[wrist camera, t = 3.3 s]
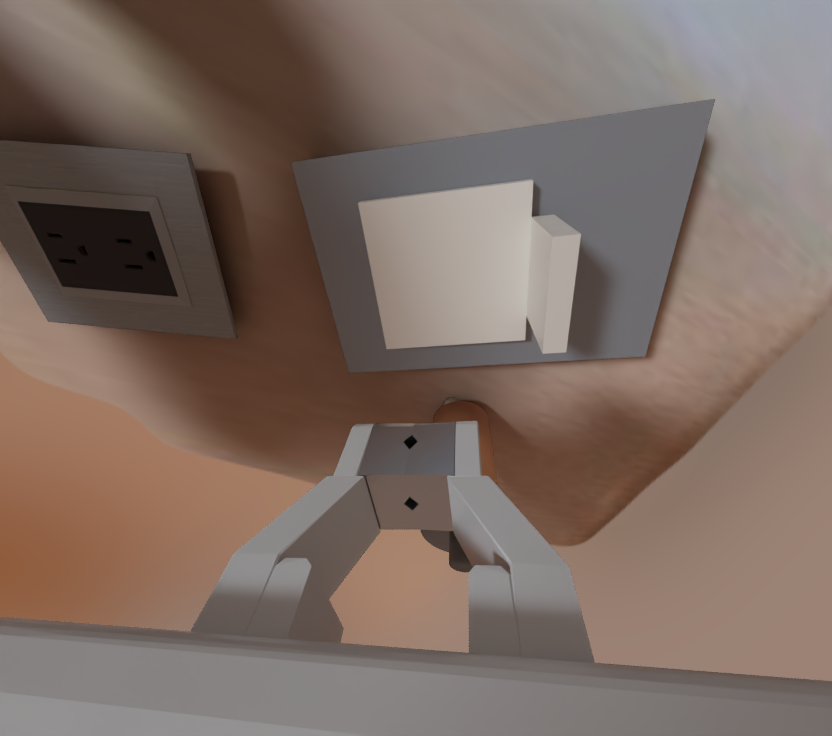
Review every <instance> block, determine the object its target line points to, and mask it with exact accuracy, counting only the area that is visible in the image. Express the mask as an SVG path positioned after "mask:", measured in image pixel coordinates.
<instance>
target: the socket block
mask: <svg viewBox="0 0 832 736" xmlns="http://www.w3.org/2000/svg"><path fill="white" fill-rule="evenodd" d="M714 102H715V99H711V100H704V101H697V102H691V103H684V104H677V105H671V106H664V107H657V108H650V109H644V110H637V111H630V112H624V113H617V114H610V115H604V116H597V117H590V118H584V119H577V120H570V121H563V122H557V123H550V124H543V125H537V126H530V127H523V128H517V129H510V130H503V131H496V132H490V133H483V134H476V135H470V136H463V137H456V138H450V139H443V140H436V141H429V142H423V143H416V144H409V145H403V146H396V147H389V148H383V149H376V150H369V151H362V152H356V153H349V154H342V155H336V156H329V157H322V158H316V159H309V160H302V161H296V162H291V165H292V169H293V173H294V176H295V180H296V184H297V187H298V191H299V194H300V198H301V202H302V205H303V209H304V213H305V216H306V220H307V223H308V227H309V231H310V234H311V238H312V242H313V245H314V249H315V252H316V256H317V260H318V263H319V267H320V271H321V274H322V278H323V282H324V285H325V289H326V292H327V296H328V300H329V303H330V307H331V311H332V314H333V318H334V321H335V325H336V329H337V332H338V336H339V340H340V343H341V347H342V350H343V354H344V358H345V361H346V365H347V369H348V372H349V373H362V372H380V371H397V370H415V369H432V368H450V367H468V366H485V365H503V364H520V363H538V362H556V361H573V360H591V359H608V358H626V357H644V356H646V353H647V349H648V345H649V342H650V338H651V334H652V331H653V327H654V323H655V320H656V316H657V312H658V309H659V305H660V301H661V297H662V294H663V290H664V286H665V283H666V279H667V275H668V272H669V268H670V264H671V261H672V257H673V253H674V249H675V246H676V242H677V238H678V235H679V231H680V227H681V224H682V220H683V216H684V213H685V209H686V205H687V202H688V198H689V194H690V190H691V187H692V183H693V179H694V176H695V172H696V168H697V165H698V161H699V157H700V154H701V150H702V146H703V142H704V139H705V135H706V131H707V128H708V124H709V120H710V117H711V113H712V109H713V106H714ZM529 179H531V180H533V198H532V217H535V216H544V215H553V214H554V215H556V216H557V217H558V218H560V219H561V220H563V221H564V222H565V223H567V224H568V225H569V226H571V227H572V228H574V229H575V230H576V231H578V232H579V233H580V234H581V239H580V247H579V255H578V263H577V271H576V278H575V286H574V294H573V302H572V310H571V318H570V326H569V334H568V342H567V350H566V352H564V353H547V354H542V351H541V349H540V347H539V344H538V342H537V339H536V337H535V335H534V332H533V330H532V328H531V325H530V323H529V321H528V318H527V316H526V335H525V340H521V341H505V342H490V343H475V344H460V345H445V346H430V347H414V348H399V349H386V344H385V339H384V333H383V328H382V323H381V318H380V313H379V308H378V303H377V298H376V293H375V288H374V282H373V277H372V272H371V267H370V262H369V257H368V252H367V247H366V242H365V237H364V231H363V226H362V221H361V216H360V211H359V206H358V203H359V202H360V201H365V200H373V199H381V198H389V197H397V196H404V195H412V194H420V193H428V192H435V191H443V190H451V189H459V188H466V187H474V186H482V185H490V184H498V183H505V182H513V181H521V180H529Z"/></svg>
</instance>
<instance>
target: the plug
mask: <svg viewBox="0 0 832 736" xmlns="http://www.w3.org/2000/svg"><path fill="white" fill-rule="evenodd" d="M460 421H477V422H478V426H479V441H480V455H481V469H482V476H489V477H490V478H491V479H492V480H493V481H494V482H495V483H496V484H497V478H496V471H495V463H494V455H493V448H492V440H491V433H490V425H489V418H488V415H487V413H486V412H485V411H484V410H483V409H482V408H481V407H480V406H478V405H477V404H474V403H472V402H467V401H458V400H457V399H456V398H448V399H446V400H445V402H444V405H443V406H442V407H440V408H439V409H438V410H437V412H436V413H435V415H434V418H433V423H442V422H460ZM421 533H422V535H423V537H424V538H425V539H426V540H427V541H428V542H429V543H430V544H432V545H433V546H435V547H437V548H439V549H441V550H444V551H447V552H449V565H450V566H451V567H452V568H453V569H455V570H457V571H460V572H470V570H471V569H472V568H473V567H472V565H471V563H470V561H469V559H468V558H467V556H466V554H465V552H464V551H463V549H462V547H461V545H460V544H459V542H458V540H457V538H456V536H455V535H454V532H453V531H440V530H421Z"/></svg>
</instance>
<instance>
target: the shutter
mask: <svg viewBox="0 0 832 736" xmlns="http://www.w3.org/2000/svg"><path fill="white" fill-rule="evenodd" d="M532 198H533V180H531V179H529V180H521V181H513V182H505V183H498V184H490V185H482V186H474V187H466V188H459V189H451V190H443V191H435V192H428V193H420V194H412V195H404V196H397V197H389V198H381V199H373V200H365V201H360V202H359V203H358V206H359V211H360V216H361V221H362V226H363V231H364V237H365V242H366V247H367V252H368V257H369V262H370V267H371V272H372V277H373V282H374V288H375V293H376V298H377V303H378V308H379V313H380V318H381V323H382V328H383V333H384V339H385V344H386V349H399V348H414V347H430V346H445V345H460V344H475V343H490V342H505V341H521V340H525V335H526V316H527V318H528V321H529V323H530V325H531V328H532V330H533V332H534V335H535V337H536V339H537V342H538V344H539V347H540V349H541V351H542V354H547V353H564V352H566V350H567V342H568V334H569V326H570V318H571V310H572V302H573V294H574V286H575V278H576V271H577V263H578V255H579V247H580V239H581V234H580V233H579V232H578V231H576V230H575V229H574V228H572V227H571V226H569V225H568V224H567V223H565V222H564V221H563V220H561V219H560V218H558V217H557V216H556V215H554V214H553V215H544V216H535V217H532Z"/></svg>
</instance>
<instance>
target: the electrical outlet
mask: <svg viewBox="0 0 832 736" xmlns="http://www.w3.org/2000/svg"><path fill="white" fill-rule="evenodd" d="M0 240H1V242H2V244H3V245H4V247H5V249H6V250H7V252H8V254H9V256H10V257H11V259H12V261H13V262H14V264H15V266H16V267H17V269H18V271H19V273H20V274H21V276H22V278H23V279H24V281H25V283H26V285H27V286H28V288H29V290H30V291H31V293H32V295H33V297H34V298H35V300H36V302H37V303H38V305H39V307H40V308H41V310H42V312H43V314H44V315H45V317H46V319H47V320H48V322H58V323H69V324H80V325H91V326H101V327H112V328H123V329H134V330H144V331H155V332H166V333H176V334H187V335H198V336H209V337H219V338H230V339H236V338H237V337H238V335H237V331H236V328H235V324H234V320H233V316H232V312H231V308H230V304H229V300H228V297H227V293H226V289H225V285H224V281H223V277H222V273H221V270H220V266H219V262H218V258H217V254H216V250H215V246H214V242H213V239H212V235H211V231H210V227H209V223H208V219H207V215H206V212H205V208H204V204H203V200H202V196H201V192H200V188H199V184H198V181H197V177H196V173H195V169H194V165H193V161H192V157H191V154H188V153H174V152H160V151H147V150H133V149H119V148H105V147H91V146H78V145H64V144H50V143H36V142H22V141H9V140H0Z"/></svg>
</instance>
